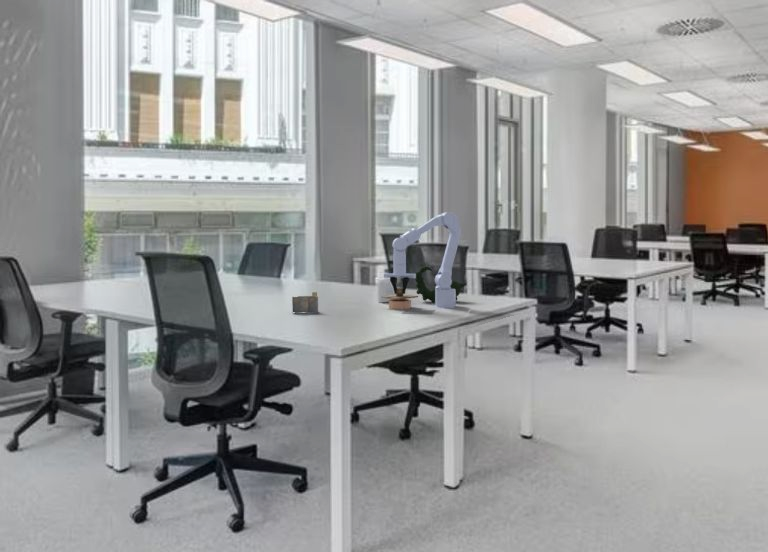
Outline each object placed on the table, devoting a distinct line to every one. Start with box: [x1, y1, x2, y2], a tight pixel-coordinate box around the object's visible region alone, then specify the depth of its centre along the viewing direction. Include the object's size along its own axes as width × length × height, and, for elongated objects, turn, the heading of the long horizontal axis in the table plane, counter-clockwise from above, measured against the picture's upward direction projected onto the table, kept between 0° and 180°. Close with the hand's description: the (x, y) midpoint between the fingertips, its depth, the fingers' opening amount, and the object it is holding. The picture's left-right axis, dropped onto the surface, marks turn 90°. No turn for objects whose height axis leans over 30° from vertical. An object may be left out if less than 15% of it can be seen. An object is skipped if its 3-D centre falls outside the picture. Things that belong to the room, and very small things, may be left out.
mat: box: [401, 308, 437, 315], centre depth 302 cm, size 13×13×1 cm
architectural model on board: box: [291, 291, 319, 313], centre depth 309 cm, size 11×3×10 cm, turn 94°
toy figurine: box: [414, 265, 467, 303], centre depth 338 cm, size 9×19×25 cm
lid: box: [381, 287, 419, 300], centre depth 316 cm, size 12×12×4 cm
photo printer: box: [377, 277, 396, 304], centre depth 341 cm, size 10×4×12 cm, turn 123°
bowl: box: [388, 298, 412, 310], centre depth 316 cm, size 10×10×4 cm
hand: (399, 293), depth 316 cm, fingers closed on lid, 3 cm apart
